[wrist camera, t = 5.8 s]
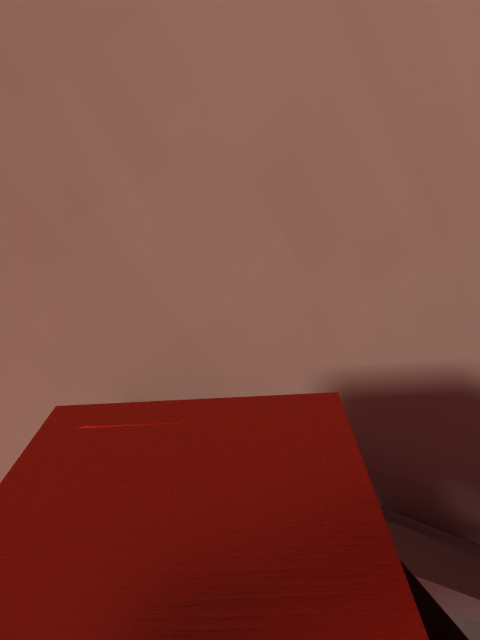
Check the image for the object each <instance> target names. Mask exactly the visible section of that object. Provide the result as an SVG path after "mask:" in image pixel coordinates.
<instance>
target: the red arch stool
mask: <svg viewBox="0 0 480 640" xmlns="http://www.w3.org/2000/svg"><path fill="white" fill-rule="evenodd" d="M0 640H429V638H428V636H427V633H426V630H425V627H424V625H423V622H422V619H421V617H420V614H419V611H418V608H417V606H416V603H415V600H414V597H413V595H412V592H411V589H410V587H409V584H408V581H407V578H406V576H405V573H404V570H403V568H402V565H401V562H400V559H399V557H398V554H397V551H396V548H395V546H394V543H393V540H392V538H391V535H390V532H389V529H388V527H387V524H386V521H385V518H384V516H383V513H382V510H381V508H380V505H379V502H378V499H377V497H376V494H375V491H374V489H373V486H372V483H371V480H370V478H369V475H368V472H367V469H366V467H365V464H364V461H363V459H362V456H361V453H360V450H359V448H358V445H357V442H356V440H355V437H354V434H353V431H352V429H351V426H350V423H349V420H348V418H347V415H346V412H345V410H344V407H343V404H342V401H341V399H340V396H339V393H338V392H334V393H314V394H293V395H273V396H253V397H232V398H212V399H191V400H171V401H151V402H130V403H110V404H89V405H69V406H56V407H55V408H54V410H53V411H52V412H51V414H50V415H49V417H48V418H47V419H46V421H45V422H44V424H43V425H42V426H41V428H40V429H39V430H38V432H37V433H36V435H35V436H34V437H33V439H32V440H31V442H30V443H29V444H28V446H27V447H26V448H25V450H24V451H23V453H22V454H21V455H20V457H19V458H18V460H17V461H16V462H15V464H14V465H13V466H12V468H11V469H10V471H9V472H8V473H7V475H6V476H5V477H4V479H3V480H2V482H1V483H0Z"/></svg>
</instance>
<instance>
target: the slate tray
mask: <svg viewBox="0 0 480 640" xmlns="http://www.w3.org/2000/svg"><path fill="white" fill-rule="evenodd" d="M380 508H381V510H382V513H383V516H384V518H385V521H386V524H387V527H388V529H389V532H390V535H391V538H392V540H393V543H394V546H395V548H396V551H397V554H398V557H399V558H400V560H401V561H402V562H403V563H404V564H405V565H406V567H407V568H408V569H409V570H410V571H411V572H412V574H413V575H414V576H415V577H416V578H417V579H418V581H419V582H420V583H421V584H422V585H423V586H424V588H425V589H426V590H427V591H428V592H429V593H430V595H431V596H432V597H433V598H434V599H435V600H436V602H437V603H438V604H439V605H440V606H441V607H442V609H443V610H444V611H445V612H446V613H447V614H448V616H449V617H450V618H451V619H452V620H453V621H454V623H455V624H456V625H457V626H458V627H459V628H460V630H461V631H462V632H463V633H464V634H465V635H466V637H467V638H468V639H469V640H480V546H479V545H477V544H474V543H471V542H469V541H466V540H464V539H461V538H459V537H456V536H454V535H451V534H449V533H446V532H444V531H441V530H439V529H436V528H434V527H431V526H429V525H426V524H424V523H421V522H419V521H416V520H413V519H411V518H408V517H406V516H403V515H401V514H398V513H396V512H393V511H391V510H388V509H386V508H383V507H381V506H380Z"/></svg>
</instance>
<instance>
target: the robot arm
mask: <svg viewBox="0 0 480 640" xmlns="http://www.w3.org/2000/svg"><path fill="white" fill-rule="evenodd" d="M399 559H400V558H399ZM400 562H401V565H402V568H403V570H404V573H405V576H406V578H407V581H408V584H409V587H410V589H411V592H412V595H413V597H414V600H415V603H416V606H417V608H418V611H419V614H420V617H421V619H422V622H423V625H424V627H425V630H426V633H427V636H428V638H429V640H469V639H468V638H467V637H466V635H465V634H464V633H463V632H462V631H461V630H460V628H459V627H458V626H457V625H456V624H455V623H454V621H453V620H452V619H451V618H450V617H449V616H448V614H447V613H446V612H445V611H444V610H443V609H442V607H441V606H440V605H439V604H438V603H437V602H436V600H435V599H434V598H433V597H432V596H431V595H430V593H429V592H428V591H427V590H426V589H425V588H424V586H423V585H422V584H421V583H420V582H419V581H418V579H417V578H416V577H415V576H414V575H413V574H412V572H411V571H410V570H409V569H408V568H407V567H406V565H405V564H404V563H403V562H402V561H401V560H400Z"/></svg>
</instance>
